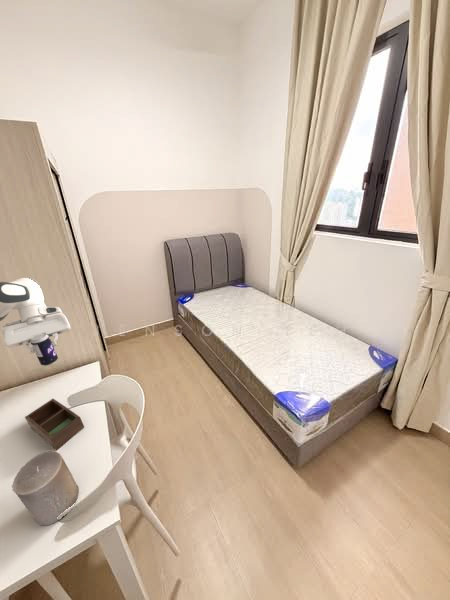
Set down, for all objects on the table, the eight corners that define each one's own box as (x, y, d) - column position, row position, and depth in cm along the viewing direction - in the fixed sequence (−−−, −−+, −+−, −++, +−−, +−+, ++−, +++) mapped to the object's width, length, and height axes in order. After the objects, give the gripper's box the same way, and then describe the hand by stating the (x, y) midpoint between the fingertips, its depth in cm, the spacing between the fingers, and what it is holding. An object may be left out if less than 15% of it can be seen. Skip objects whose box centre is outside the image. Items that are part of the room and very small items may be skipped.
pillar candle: (69, 474, 68) (50, 439, 61) (86, 496, 62) (67, 461, 56) (29, 509, 60) (3, 473, 54) (44, 537, 55) (17, 501, 49)
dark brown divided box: (30, 427, 83) (24, 417, 81) (57, 408, 90) (53, 398, 88) (56, 450, 74) (51, 439, 72) (84, 427, 82) (80, 416, 79)
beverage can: (55, 365, 90) (43, 339, 85) (38, 368, 89) (25, 341, 84) (61, 356, 95) (50, 331, 90) (45, 359, 94) (33, 333, 89)
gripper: (-4, 322, 84) (5, 358, 81) (63, 306, 95) (73, 337, 91) (4, 328, 90) (12, 362, 86) (66, 312, 100) (75, 341, 96)
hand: (44, 349), depth 89 cm, fingers closed on beverage can, 5 cm apart
